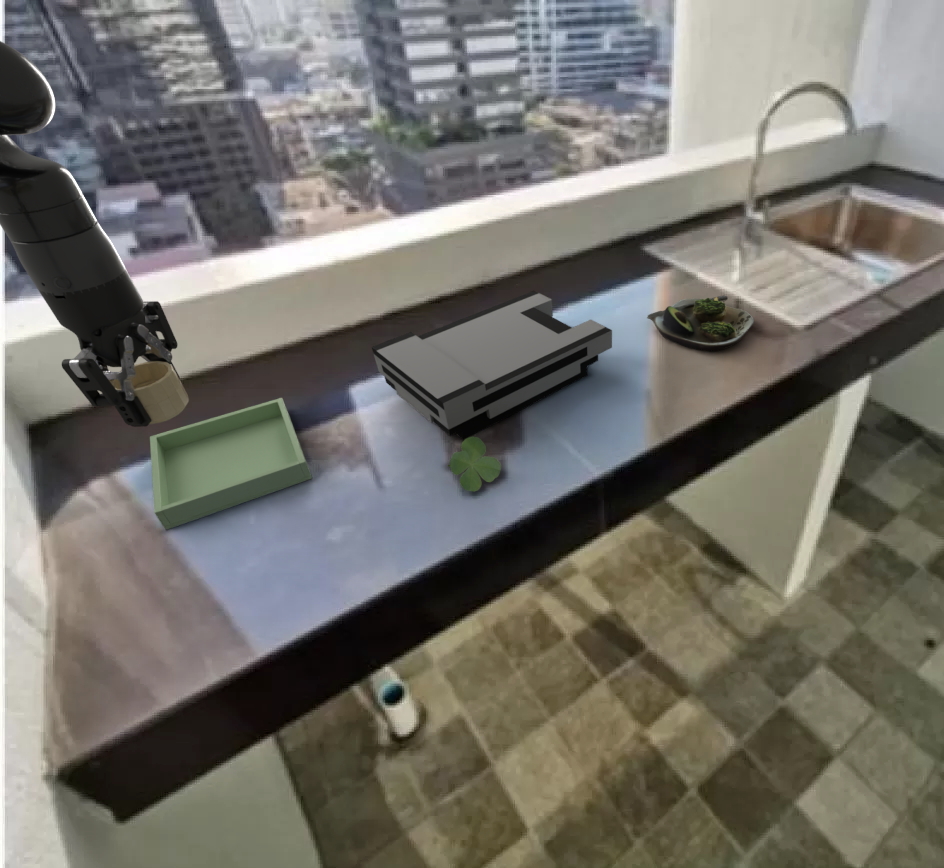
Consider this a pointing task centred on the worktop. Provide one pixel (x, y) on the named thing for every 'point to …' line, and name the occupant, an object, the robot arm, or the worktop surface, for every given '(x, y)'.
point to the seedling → (474, 464)
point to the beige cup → (158, 390)
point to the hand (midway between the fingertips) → (157, 406)
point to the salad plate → (702, 323)
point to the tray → (224, 462)
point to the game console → (490, 363)
